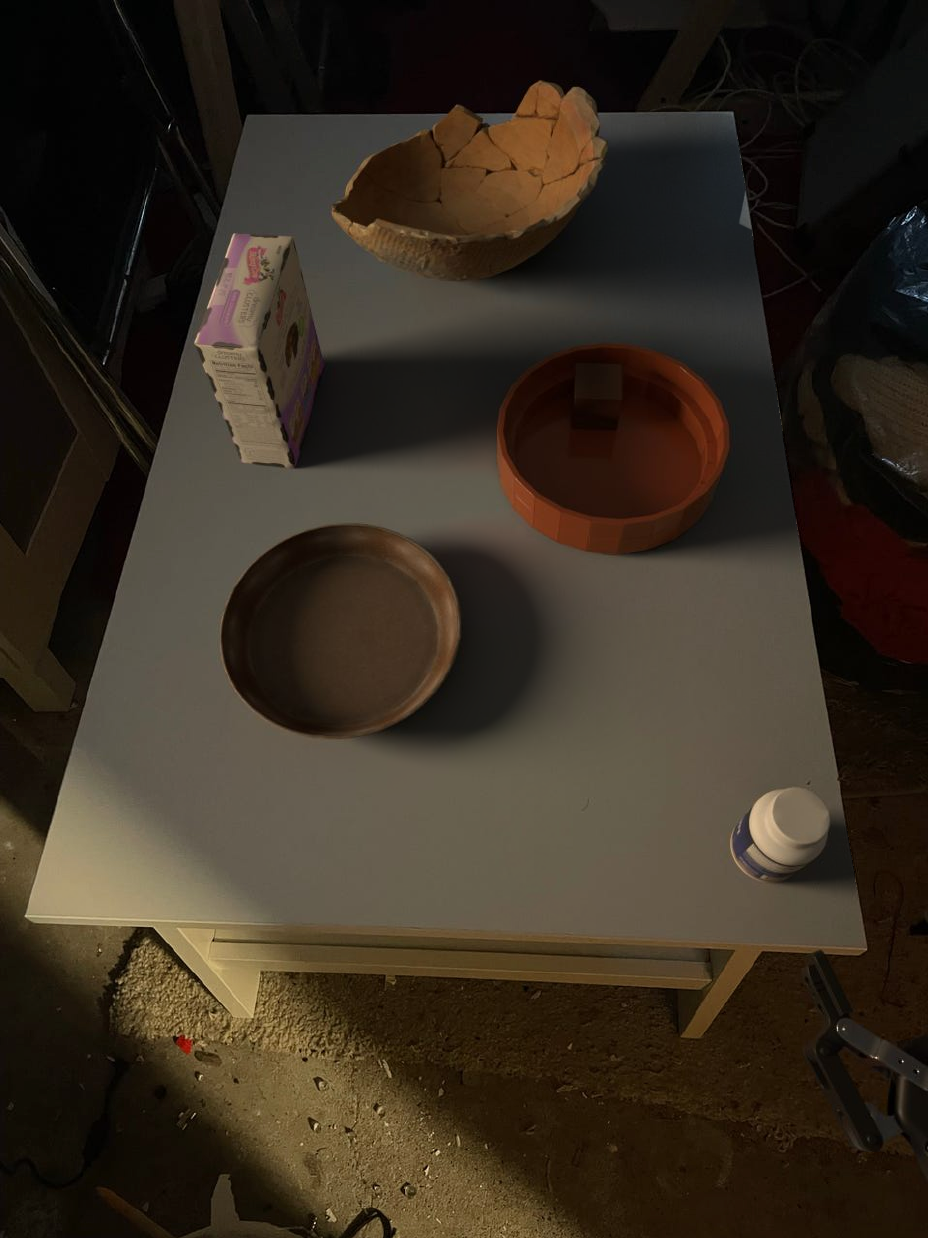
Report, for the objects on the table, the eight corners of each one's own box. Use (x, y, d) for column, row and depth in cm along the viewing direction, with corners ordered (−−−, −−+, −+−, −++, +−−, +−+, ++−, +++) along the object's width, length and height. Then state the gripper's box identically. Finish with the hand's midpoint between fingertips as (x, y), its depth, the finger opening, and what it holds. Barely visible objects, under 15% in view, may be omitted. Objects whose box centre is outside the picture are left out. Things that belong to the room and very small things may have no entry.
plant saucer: (510, 625, 79) (510, 608, 76) (349, 801, 72) (343, 789, 69) (342, 505, 86) (337, 484, 83) (181, 654, 79) (169, 638, 76)
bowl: (714, 389, 91) (727, 350, 86) (717, 566, 81) (732, 533, 76) (508, 375, 93) (509, 336, 88) (486, 547, 83) (486, 513, 78)
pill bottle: (750, 801, 71) (785, 761, 62) (811, 841, 69) (856, 806, 61) (715, 855, 69) (746, 822, 61) (777, 898, 68) (819, 871, 59)
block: (616, 395, 90) (622, 363, 86) (616, 430, 88) (622, 399, 84) (571, 394, 91) (575, 362, 87) (571, 428, 88) (574, 397, 84)
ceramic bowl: (386, 126, 110) (394, 1, 96) (595, 193, 110) (632, 79, 96) (301, 301, 97) (296, 186, 84) (537, 377, 98) (570, 275, 84)
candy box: (272, 360, 95) (232, 228, 80) (326, 365, 94) (295, 233, 80) (239, 464, 88) (189, 341, 74) (297, 469, 88) (258, 347, 73)
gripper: (1186, 1185, 46) (1003, 881, 53) (942, 1290, 44) (787, 961, 52) (1099, 1172, 53) (946, 903, 60) (884, 1263, 51) (753, 975, 58)
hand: (873, 930), depth 56 cm, fingers open, 8 cm apart
